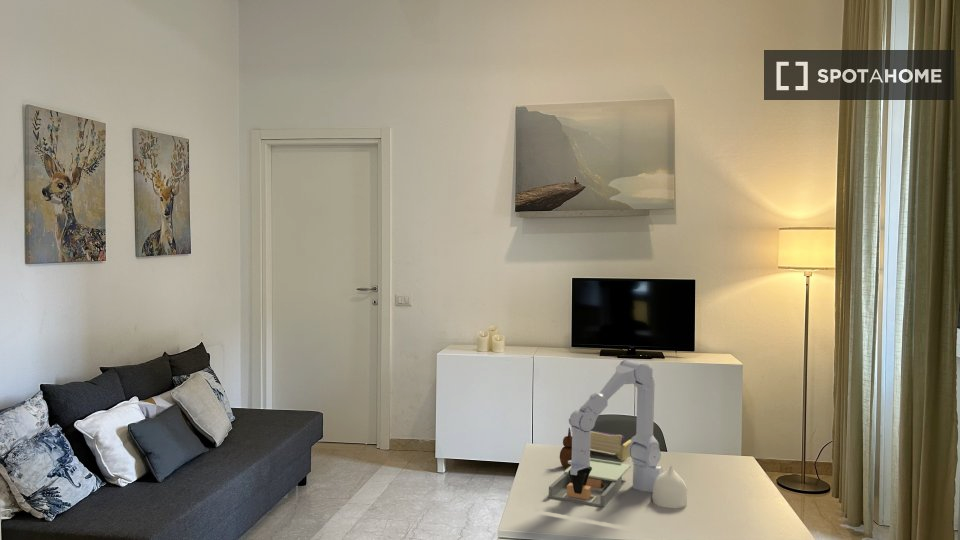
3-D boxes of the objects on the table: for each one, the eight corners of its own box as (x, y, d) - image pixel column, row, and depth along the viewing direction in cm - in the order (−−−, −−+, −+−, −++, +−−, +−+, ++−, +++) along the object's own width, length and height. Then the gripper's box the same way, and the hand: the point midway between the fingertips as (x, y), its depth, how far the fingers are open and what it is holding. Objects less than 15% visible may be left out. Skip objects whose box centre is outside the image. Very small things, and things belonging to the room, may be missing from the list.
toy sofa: (632, 457, 293) (633, 430, 293) (624, 462, 286) (624, 435, 285) (581, 448, 304) (582, 422, 304) (572, 453, 297) (573, 427, 296)
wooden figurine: (570, 470, 273) (572, 429, 273) (556, 467, 277) (558, 426, 276) (580, 466, 279) (581, 426, 278) (566, 463, 282) (567, 423, 282)
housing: (621, 490, 254) (621, 476, 253) (603, 510, 234) (604, 495, 234) (569, 481, 261) (569, 468, 261) (548, 500, 242) (548, 486, 242)
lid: (630, 466, 265) (630, 463, 265) (616, 481, 248) (617, 478, 248) (580, 459, 272) (580, 455, 272) (564, 473, 255) (564, 469, 255)
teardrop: (662, 509, 237) (664, 471, 237) (645, 497, 248) (647, 460, 247) (694, 506, 240) (695, 469, 239) (676, 495, 251) (677, 459, 250)
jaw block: (590, 496, 242) (591, 486, 241) (587, 499, 239) (588, 489, 238) (569, 492, 244) (570, 482, 244) (566, 495, 242) (566, 485, 241)
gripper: (575, 441, 249) (574, 482, 250) (561, 452, 236) (560, 496, 237) (596, 444, 246) (595, 486, 247) (583, 456, 233) (582, 499, 234)
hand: (579, 491), depth 241 cm, fingers closed on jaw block, 3 cm apart
